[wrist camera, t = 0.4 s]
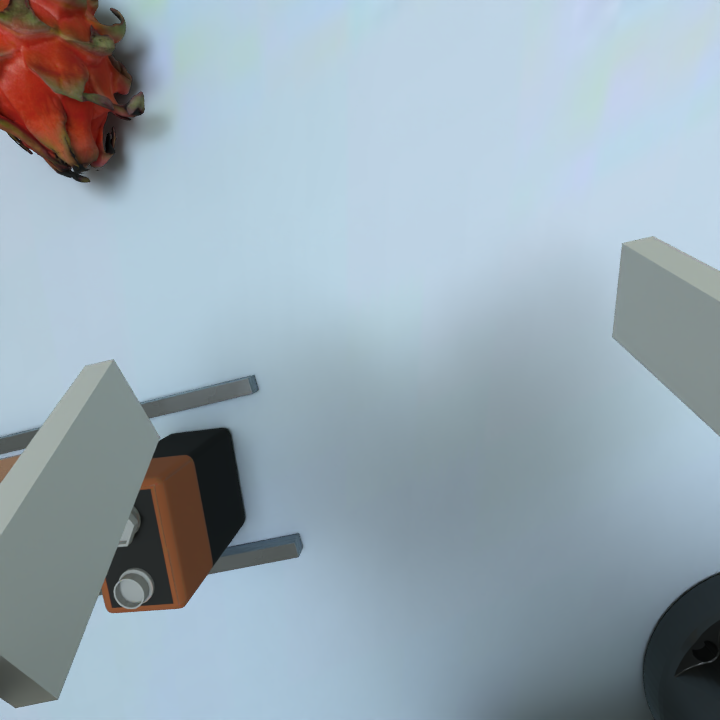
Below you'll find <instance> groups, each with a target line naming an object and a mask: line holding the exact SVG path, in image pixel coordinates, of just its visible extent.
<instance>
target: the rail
mask: <svg viewBox="0 0 720 720" xmlns="http://www.w3.org/2000/svg"><path fill="white" fill-rule="evenodd" d="M257 390H258V387H257V383H256V380H255V376H254V375H252V376H248V377H244V378H240V379H236V380H231V381H227V382H223V383H219V384H215V385H211V386H207V387H203V388H199V389H195V390H191V391H187V392H183V393H178V394H174V395H170V396H166V397H162V398H158V399H154V400H150V401H146V402H142V403H140V404H141V406H142V408H143V409H144V411H145V413H146V414H147V416H148V418H153V417H157V416H161V415H165V414H170V413H174V412H178V411H182V410H186V409H190V408H195V407H199V406H203V405H207V404H211V403H215V402H220V401H224V400H228V399H232V398H236V397H240V396H245V395H249V394H253V393H254V392H256V391H257ZM40 428H41V427H40ZM40 428H36V429H32V430H28V431H24V432H19V433H15V434H11V435H7V436H3V437H0V454H3V453H7V452H11V451H16V450H20V449H24V448H26V447H27V446H28V445H29V443H30V442H31V440H32V439H33V438H34V436H35V435H36V433H37V432H38V431H39V429H40ZM20 456H21V455H16V456H12V457H8V458H4V459H0V483H1V482H2V481H3V479H4V478H5V476H6V475H7V474H8V472H9V471H10V469H11V468H12V467H13V465H14V464H15V463H16V461H17V460H18V458H19V457H20ZM302 548H303V546H302V543H301V539H300V536H299V534H294V535H289V536H284V537H279V538H273V539H268V540H263V541H258V542H253V543H248V544H243V545H238V546H233V547H228V548H226V549H225V551H224V552H223V553H222V555H221V556H220V558H219V559H218V560H217V562H216V563H215V565H214V566H213V568H212V569H211V570H210V572H209V573H208V574H213V573H218V572H223V571H229V570H234V569H239V568H244V567H249V566H255V565H260V564H265V563H270V562H276V561H281V560H286V559H291V558H297V557H299V555H300V553H301V550H302ZM99 595H103V594H102V589H101V590H100V593H99Z"/></svg>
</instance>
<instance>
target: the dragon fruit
mask: <svg viewBox="0 0 720 720" xmlns="http://www.w3.org/2000/svg"><path fill="white" fill-rule="evenodd" d="M97 8H98V0H0V129H2V130H4V131H6V132H7V133H8V135H9V136H10V137H11V138H12V139H13V140H14V141H15V142H16V143H17V142H18V143H20V144H18V143H17V144H18V145H20V146H21V147H22V148H23V149H24V150H26V151H27V152H29V153H30V154H31V155H32V154H33V153H32V152H31V151H30V150H29V149H31V150H33V151H34V152H36V153H37V154H38V155H40V156H41V157H43V158H44V159H45V161H46V162H47V163H48V164H49V165H50V166H51V167H52V168H53V169H54V170H55V171H56V172H57V173H59V174H61V175H64V176H66V177H69V178H71V177H72V178H73V179H75V180H76V181H79V182H90V180H89V178H87V177H84V176H81V175H79V174H84V173H80V172H83V171H88V170H89V169H86V168H87V167H88V165H89V164H90V165H91V166H92V167H94V168H99V167H103V166H104V165H105V164H106V163H107V162H108V160H109V159H110V158H111V157H112V156H113V155H114V154H115V150H114V147H115V140H116V136H115V131H114V126H113V128H112V133H109V132H108V133H107V137H106V143H105V148H106V150H104V146H103V128H104V124H105V122H106V119H107V115H108V112H112V113H113V114H114V115H116V116H118V117H119V118H122V119H125V120H131V119H130V118H128V117H135V116H139V115H142V114H143V113H144V110H145V108H144V95H143V92H139V93H138V94H137V95H134V96H133V97H132V98H131V100H130V101H129V102H128V103H127V104H125V105H119V104H118V103H117V102H116V100H115V98H114V95H113V94H114V93H116V92H117V93H119V94H121V95H126V94H128V93H129V91H130V86H131V82H132V77H131V75H130V74H129V73H128V72H127V70H126V68H125V66H124V65H123V64H122V63H121V62H120V61H117V60H115V58H114V57H113V56H112V53H113V51H114V50H115V43H118V42H119V41H120V40H121V39H122V38H123V37H124V34H125V31H126V24H125V20H124V17H123V16H122V15H121V13H120V12H119V11H118V10H116V9H113V8H110V10H111V11H112V13H113V14H114V15H115V16H117V17H118V18H119V20H120V21H121V23H120V24H113V25H112V26H107V25H103V24H101V23H99V22H98V20H97V19H96V18H95V17H94V14H95V12H96V11H97ZM110 134H112V139H111V137H110ZM18 138H19V139H20V140H19V139H18ZM72 168H73V170H74V172H73V171H71V169H72ZM97 171H98V170H97Z"/></svg>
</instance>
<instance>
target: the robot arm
mask: <svg viewBox="0 0 720 720" xmlns="http://www.w3.org/2000/svg"><path fill="white" fill-rule="evenodd" d="M612 337H613V338H614V339H615V340H616V341H617V342H618V343H619V344H620V345H621V346H622V347H624V348H625V349H626V350H627V351H628V352H629V353H630V354H631V355H632V356H633V357H634V358H635V359H636V360H638V361H639V362H640V363H641V364H642V365H643V366H644V367H645V368H646V369H647V370H648V371H649V372H651V373H652V374H653V375H654V376H655V377H656V378H657V379H658V380H659V381H660V382H661V383H662V384H664V385H665V386H666V387H667V388H668V389H669V390H670V391H671V392H672V393H673V394H674V395H675V396H676V397H678V398H679V399H680V400H681V401H682V402H683V403H684V404H685V405H686V406H687V407H688V408H689V409H691V410H692V411H693V412H694V413H695V414H696V415H697V416H698V417H699V418H700V419H701V420H702V421H704V422H705V423H706V424H707V425H708V426H709V427H710V428H711V429H712V430H713V431H714V432H715V433H716V434H718V435H719V436H720V271H718V270H717V269H715V268H713V267H711V266H709V265H707V264H705V263H703V262H701V261H699V260H697V259H696V258H694V257H692V256H690V255H688V254H686V253H684V252H682V251H680V250H678V249H676V248H675V247H673V246H671V245H669V244H667V243H665V242H663V241H661V240H659V239H657V238H655V237H653V236H652V237H648V238H643V239H639V240H634V241H630V242H626V243H622V250H621V259H620V268H619V278H618V287H617V297H616V306H615V316H614V325H613V334H612ZM159 439H160V436H159V435H158V433H157V431H156V430H155V428H154V426H153V424H152V423H151V421H150V419H149V418H148V416H147V414H146V413H145V411H144V409H143V408H142V406H141V404H140V403H139V401H138V399H137V398H136V396H135V394H134V393H133V391H132V389H131V388H130V386H129V384H128V382H127V381H126V379H125V377H124V376H123V374H122V372H121V371H120V369H119V367H118V366H117V364H116V362H115V361H114V359H113V360H108V361H104V362H100V363H95V364H91V365H87V366H85V367H84V368H83V370H82V371H81V372H80V374H79V375H78V376H77V378H76V379H75V381H74V382H73V383H72V385H71V386H70V388H69V389H68V390H67V392H66V393H65V395H64V396H63V397H62V399H61V400H60V401H59V403H58V404H57V406H56V407H55V408H54V410H53V411H52V413H51V414H50V415H49V417H48V418H47V420H46V421H45V422H44V424H43V425H42V426H41V428H40V429H39V431H38V432H37V433H36V435H35V436H34V438H33V439H32V440H31V442H30V443H29V445H28V446H27V447H26V449H25V450H24V451H23V453H22V454H21V456H20V457H19V458H18V460H17V461H16V463H15V464H14V465H13V467H12V468H11V469H10V471H9V472H8V474H7V475H6V476H5V478H4V479H3V481H2V482H1V483H0V698H2V699H3V700H4V701H6V702H7V703H9V704H10V705H12V706H13V707H15V708H18V707H23V706H28V705H33V704H38V703H43V702H48V701H53V700H58V698H59V696H60V693H61V691H62V688H63V685H64V683H65V680H66V678H67V675H68V673H69V670H70V667H71V665H72V662H73V660H74V657H75V655H76V652H77V649H78V647H79V644H80V642H81V639H82V637H83V634H84V631H85V629H86V626H87V624H88V621H89V619H90V616H91V613H92V611H93V608H94V606H95V603H96V601H97V598H98V595H99V593H100V590H101V588H102V585H103V583H104V580H105V577H106V575H107V572H108V570H109V567H110V565H111V562H112V559H113V557H114V554H115V552H116V549H117V547H118V544H119V541H120V539H121V536H122V534H123V531H124V529H125V526H126V524H127V521H128V518H129V516H130V513H131V511H132V508H133V506H134V503H135V500H136V498H137V495H138V493H139V490H140V488H141V485H142V482H143V480H144V477H145V475H146V472H147V470H148V467H149V464H150V462H151V459H152V457H153V454H154V452H155V449H156V446H157V444H158V441H159ZM644 688H645V694H646V698H647V702H648V705H649V708H650V710H651V712H652V715H653V717H654V719H655V720H720V574H719V575H717V576H715V577H713V578H711V579H709V580H707V581H705V582H703V583H701V584H700V585H698V586H696V587H695V588H693V589H692V590H690V591H689V592H688V593H686V594H685V595H684V596H683V597H682V598H680V599H679V600H678V601H677V602H676V603H675V604H674V605H673V606H672V607H671V608H670V609H669V611H668V612H667V613H666V614H665V616H664V617H663V618H662V620H661V621H660V623H659V624H658V626H657V628H656V630H655V631H654V633H653V636H652V638H651V640H650V643H649V646H648V649H647V652H646V657H645V662H644Z"/></svg>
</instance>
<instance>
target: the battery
mask: <svg viewBox="0 0 720 720" xmlns="http://www.w3.org/2000/svg"><path fill="white" fill-rule="evenodd" d="M244 521H245V517H244V511H243V505H242V499H241V494H240V488H239V482H238V477H237V471H236V465H235V460H234V454H233V448H232V443H231V437H230V433H229V431H228V430H227V429H225V428H219V429H210V430H202V431H193V432H184V433H175V434H171V435H169V436H167V437H165V438H163V439H162V440H160V441H158V444H157V446H156V449H155V452H154V454H153V457H152V459H151V462H150V464H149V467H148V470H147V472H146V475H145V477H144V480H143V482H142V485H141V488H140V490H139V493H138V495H137V498H136V500H135V503H134V506H133V508H132V511H131V513H130V516H129V518H128V521H127V524H126V526H125V529H124V531H123V534H122V536H121V539H120V541H119V544H118V547H117V549H116V552H115V554H114V557H113V559H112V562H111V565H110V567H109V570H108V572H107V575H106V577H105V580H104V583H103V585H102V588H101V589H102V594H103V598H104V603H105V606H106V609H107V610H108V611H109V612H110V613H123V612H137V611H151V610H166V609H179V608H183V607H184V606H185V605H186V604H187V603H188V601H189V600H190V598H191V597H192V596H193V594H194V593H195V591H196V590H197V589H198V587H199V586H200V584H201V583H202V582H203V580H204V579H205V577H206V576H207V575H208V573H209V572H210V570H211V569H212V568H213V566H214V565H215V563H216V562H217V560H218V559H219V558H220V556H221V555H222V553H223V552H224V551H225V549H226V548H227V546H228V545H229V544H230V542H231V541H232V539H233V538H234V537H235V535H236V534H237V532H238V531H239V530H240V528H241V527H242V525H243V524H244Z"/></svg>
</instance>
